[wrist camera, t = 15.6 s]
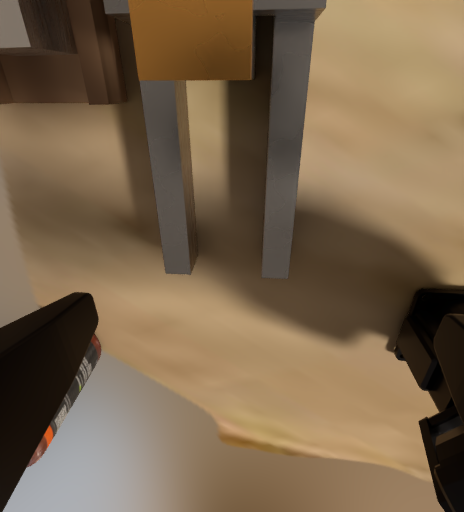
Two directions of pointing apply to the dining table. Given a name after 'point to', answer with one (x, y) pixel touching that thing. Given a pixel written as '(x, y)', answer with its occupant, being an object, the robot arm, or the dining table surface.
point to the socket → (278, 146)
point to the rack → (70, 65)
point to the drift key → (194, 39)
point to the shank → (36, 28)
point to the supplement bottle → (70, 397)
